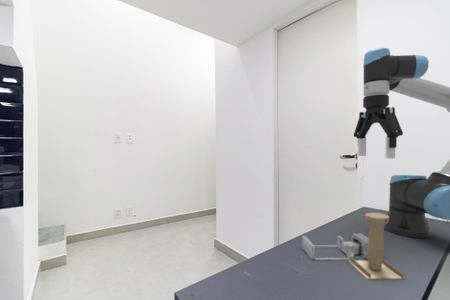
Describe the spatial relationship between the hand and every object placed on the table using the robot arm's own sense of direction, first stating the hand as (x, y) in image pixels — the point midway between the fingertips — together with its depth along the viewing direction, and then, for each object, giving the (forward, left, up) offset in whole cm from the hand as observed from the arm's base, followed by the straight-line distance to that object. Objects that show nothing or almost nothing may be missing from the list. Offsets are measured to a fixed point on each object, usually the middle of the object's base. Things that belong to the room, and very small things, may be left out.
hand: (374, 157), depth 82 cm
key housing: (+7, +7, -31) cm, 32 cm away
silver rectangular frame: (+20, +7, -31) cm, 37 cm away
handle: (+10, +17, -31) cm, 36 cm away
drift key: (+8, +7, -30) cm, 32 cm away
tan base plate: (+11, +17, -31) cm, 37 cm away
